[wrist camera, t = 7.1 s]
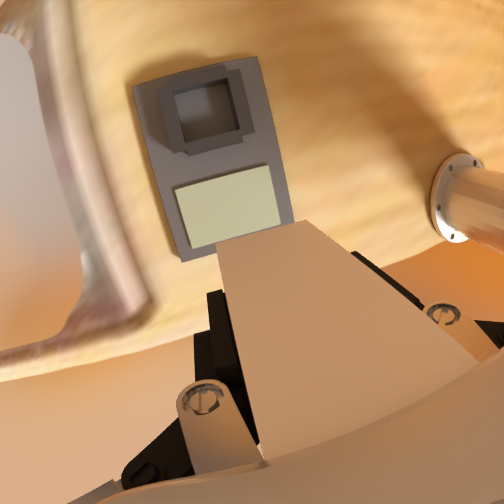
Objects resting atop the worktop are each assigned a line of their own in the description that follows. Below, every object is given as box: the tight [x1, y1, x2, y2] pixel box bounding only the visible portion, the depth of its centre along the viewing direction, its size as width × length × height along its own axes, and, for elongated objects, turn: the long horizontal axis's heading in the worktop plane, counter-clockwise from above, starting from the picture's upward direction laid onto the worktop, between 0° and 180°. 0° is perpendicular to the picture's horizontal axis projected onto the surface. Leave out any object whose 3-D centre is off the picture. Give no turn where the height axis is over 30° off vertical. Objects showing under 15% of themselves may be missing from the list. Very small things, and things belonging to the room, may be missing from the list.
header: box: [132, 56, 295, 262], centre depth 27 cm, size 12×18×4 cm, turn 13°
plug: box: [215, 220, 480, 460], centre depth 9 cm, size 4×4×10 cm
